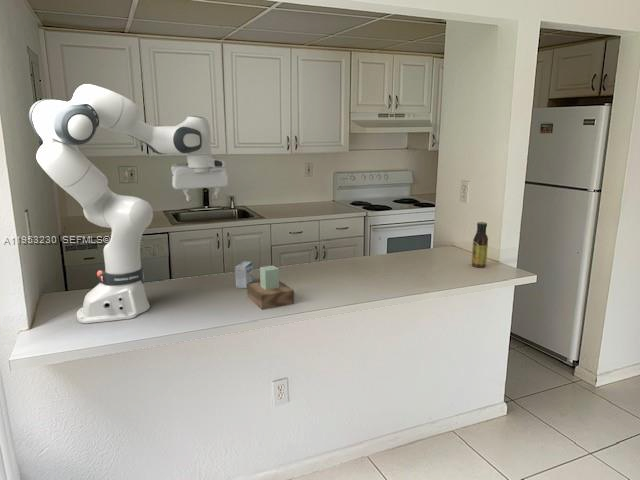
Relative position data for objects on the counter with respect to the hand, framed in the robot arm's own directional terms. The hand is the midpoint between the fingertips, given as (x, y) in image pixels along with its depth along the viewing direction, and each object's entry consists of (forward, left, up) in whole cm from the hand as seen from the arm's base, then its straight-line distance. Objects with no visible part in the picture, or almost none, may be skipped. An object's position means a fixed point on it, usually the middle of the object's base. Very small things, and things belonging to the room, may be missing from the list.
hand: (202, 200), depth 176 cm
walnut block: (+16, -25, -34) cm, 45 cm away
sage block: (+16, -25, -29) cm, 41 cm away
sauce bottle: (+115, -29, -34) cm, 123 cm away
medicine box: (+14, -4, -34) cm, 37 cm away
